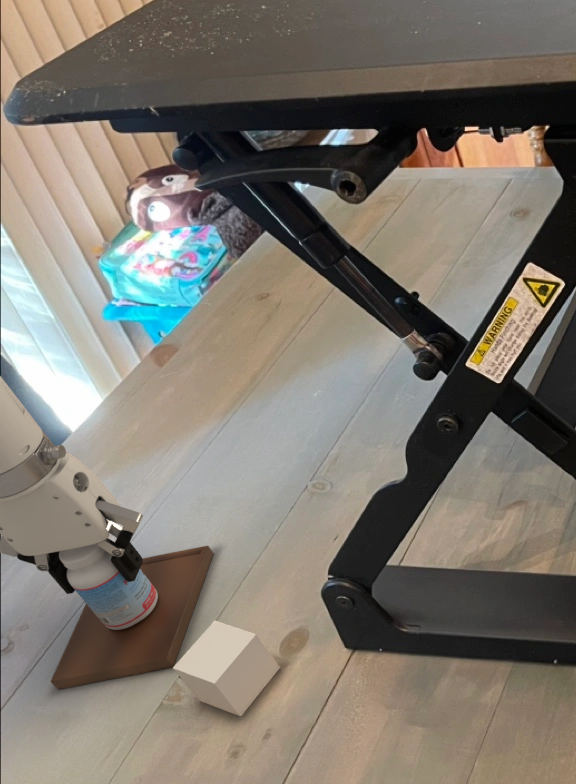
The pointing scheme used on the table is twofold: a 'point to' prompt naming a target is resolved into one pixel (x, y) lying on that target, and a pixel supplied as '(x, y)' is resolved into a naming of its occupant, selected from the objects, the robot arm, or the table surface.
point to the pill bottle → (108, 587)
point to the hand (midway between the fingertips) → (105, 576)
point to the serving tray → (138, 625)
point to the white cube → (227, 667)
